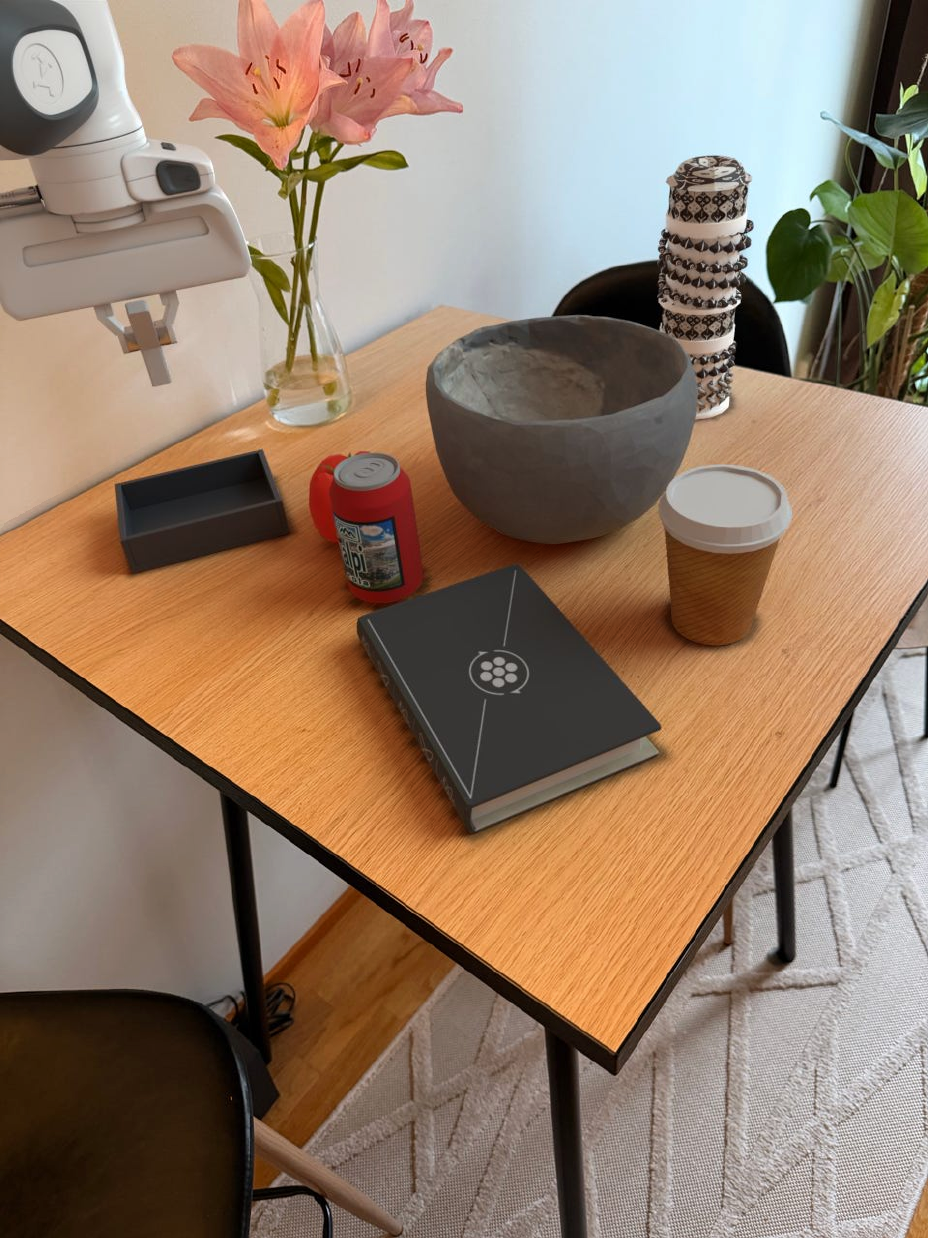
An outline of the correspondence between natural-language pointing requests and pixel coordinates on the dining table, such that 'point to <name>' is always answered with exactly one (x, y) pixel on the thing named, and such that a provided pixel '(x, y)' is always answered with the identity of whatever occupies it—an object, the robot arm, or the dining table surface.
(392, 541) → the beverage can
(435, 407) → the bowl
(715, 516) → the disposable coffee cup
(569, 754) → the book
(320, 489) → the tomato
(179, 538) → the tray
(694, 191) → the patterned white cylinder
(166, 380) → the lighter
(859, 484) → the dining table surface
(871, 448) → the dining table surface
